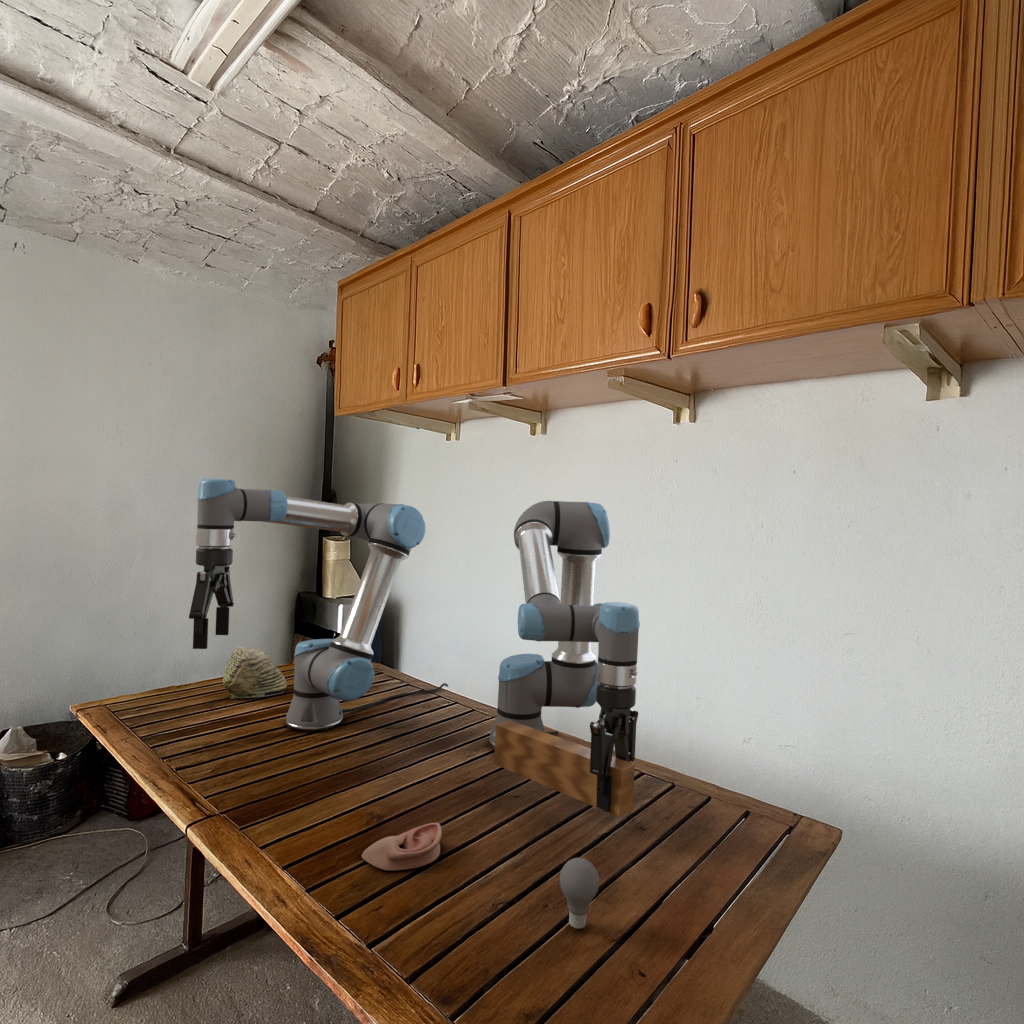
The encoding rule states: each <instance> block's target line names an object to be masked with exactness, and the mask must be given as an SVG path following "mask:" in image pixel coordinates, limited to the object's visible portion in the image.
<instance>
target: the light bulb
mask: <svg viewBox="0 0 1024 1024" xmlns="http://www.w3.org/2000/svg"><path fill="white" fill-rule="evenodd" d="M559 885H560V889H561V891H562V894H563V896H564V897H565V899H566V904H567V909H568V910H569V911H568V912H569V913H568V925H570V926H571V927H572V928H574V929H583V928H585V927H586V925H587V913H588V912H589V909H590V905H591V902H592V901H593V899H594V898H595V896H596V895H597V893H598V891H599V889H600V888H599V886H600V876H599V872H598V871H597V868H596V867H595V866H594V864H592V862H591V861H589V860H588V859H586V858H583V857H574V858H571V859H569V860H568V861H567V862H565V863H564V865H563V866H562V868H561V870H560V873H559Z"/></svg>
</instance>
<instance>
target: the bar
mask: <svg viewBox="0 0 1024 1024" xmlns="http://www.w3.org/2000/svg"><path fill="white" fill-rule="evenodd" d="M545 732H546V731H545ZM545 732H542V731H539V730H537V729H534V728H531V727H528V726H525V725H522V724H520V723H517V722H514V721H511V720H508V721H505V722H502V723H499V724H496V730H495V750H494V755H493V756H494V757H493V758H494V759H493V765H495V766H497V767H500V768H502V769H505V770H506V771H510V772H511V773H514V774H516V775H519V776H521V777H523V778H526V779H528V780H530V781H532V782H535V783H538V784H540V785H541V786H544V787H547V788H549V789H551V790H553V791H556V792H559V793H561V794H564V795H566V796H568V797H570V798H572V799H575V800H577V801H580V802H582V803H585V804H587V805H590V806H592V807H594V808H596V809H599V810H601V811H604V812H606V813H608V814H611V815H612V816H614V817H617V818H622V817H623V816H625V815H627V814H628V813H630V812H631V811H633V810H634V792H635V791H634V790H635V767H636V764H635V763H633V762H631V761H630V762H628V761H625V760H622V759H619V758H616V756H613V755H612V761H611V767H610V773H609V776H612V785H611V808H610V811H609V812H607V811H605V810H602V809H600V808H598V807H596V803H597V775H594V774H592V773H590V753H591V747H588V746H585V745H582V744H579V743H576V742H573V741H571V740H567V739H565V738H562V737H559V736H556V735H551V734H548V733H545Z"/></svg>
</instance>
